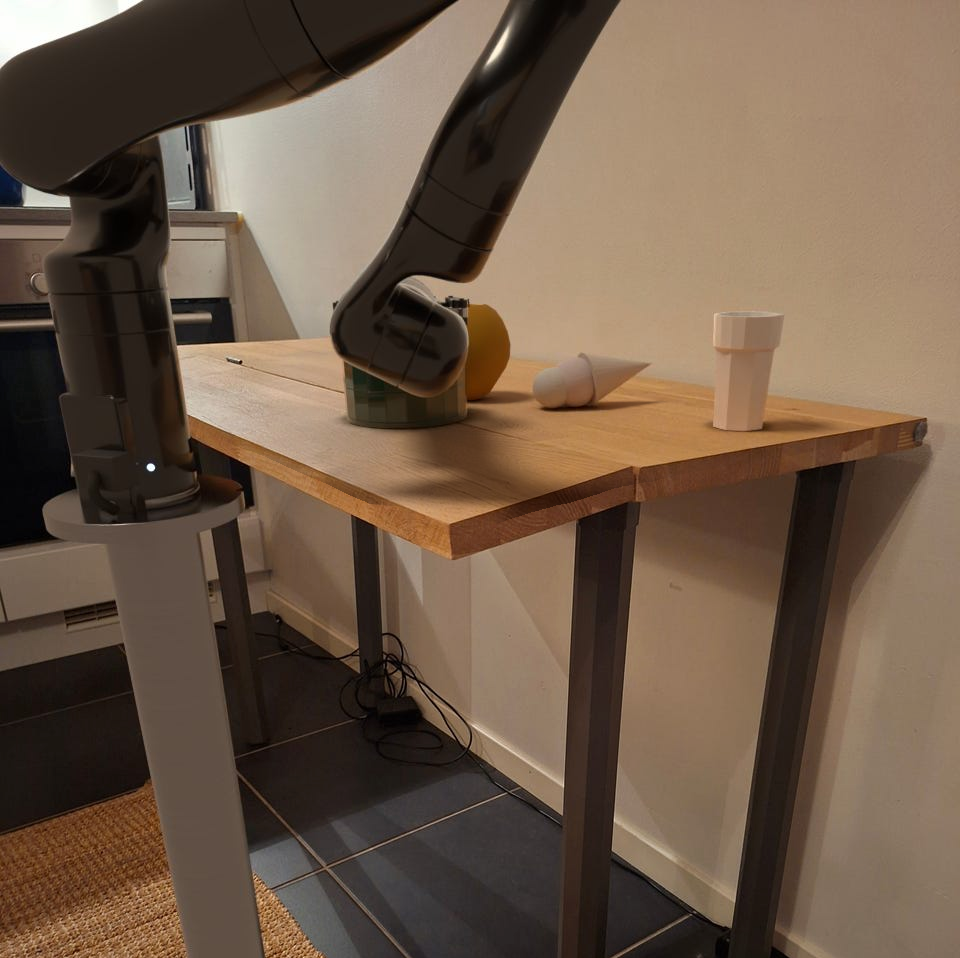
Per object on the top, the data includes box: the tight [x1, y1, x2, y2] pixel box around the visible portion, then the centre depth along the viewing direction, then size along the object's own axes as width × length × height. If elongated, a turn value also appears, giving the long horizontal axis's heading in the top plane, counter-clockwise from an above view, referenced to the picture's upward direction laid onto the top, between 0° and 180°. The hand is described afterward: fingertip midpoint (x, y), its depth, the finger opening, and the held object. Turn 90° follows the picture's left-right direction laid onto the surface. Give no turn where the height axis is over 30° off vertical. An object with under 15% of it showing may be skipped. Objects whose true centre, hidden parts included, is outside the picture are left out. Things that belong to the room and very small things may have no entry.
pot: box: [341, 359, 468, 430], centre depth 101 cm, size 14×14×7 cm
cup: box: [712, 310, 785, 432], centre depth 92 cm, size 7×7×11 cm
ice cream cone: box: [532, 352, 653, 409], centre depth 106 cm, size 6×6×15 cm
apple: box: [466, 298, 512, 401], centre depth 111 cm, size 10×10×12 cm
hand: (401, 307), depth 100 cm, fingers closed on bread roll, 5 cm apart
